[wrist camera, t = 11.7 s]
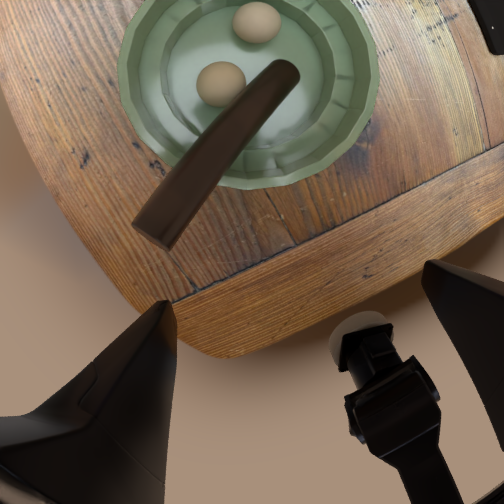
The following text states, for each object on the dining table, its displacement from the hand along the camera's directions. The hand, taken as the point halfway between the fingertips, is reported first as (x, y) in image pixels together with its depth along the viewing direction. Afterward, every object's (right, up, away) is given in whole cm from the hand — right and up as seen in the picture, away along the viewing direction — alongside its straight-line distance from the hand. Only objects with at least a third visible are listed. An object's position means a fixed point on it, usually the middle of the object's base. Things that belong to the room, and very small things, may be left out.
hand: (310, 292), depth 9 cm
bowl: (-2, +13, +8) cm, 15 cm away
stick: (0, +13, +7) cm, 14 cm away
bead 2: (-2, +15, +4) cm, 16 cm away
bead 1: (-4, +11, +6) cm, 13 cm away
